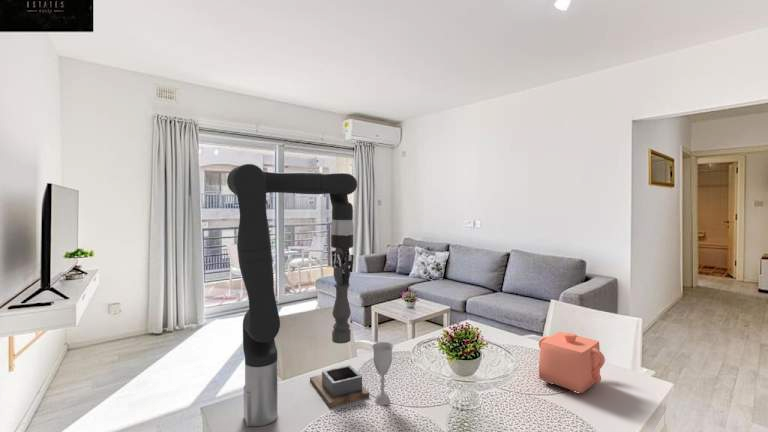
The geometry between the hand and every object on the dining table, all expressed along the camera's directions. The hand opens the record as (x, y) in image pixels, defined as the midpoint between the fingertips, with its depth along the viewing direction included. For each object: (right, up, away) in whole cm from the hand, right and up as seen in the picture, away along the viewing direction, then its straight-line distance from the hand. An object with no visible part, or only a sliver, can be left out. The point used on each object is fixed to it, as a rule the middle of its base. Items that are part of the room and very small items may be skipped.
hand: (341, 283), depth 127 cm
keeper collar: (0, -36, +1) cm, 36 cm away
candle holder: (0, -20, +1) cm, 20 cm away
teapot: (+84, -38, +12) cm, 93 cm away
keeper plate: (-2, -37, +4) cm, 38 cm away
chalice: (+14, -38, -4) cm, 41 cm away
